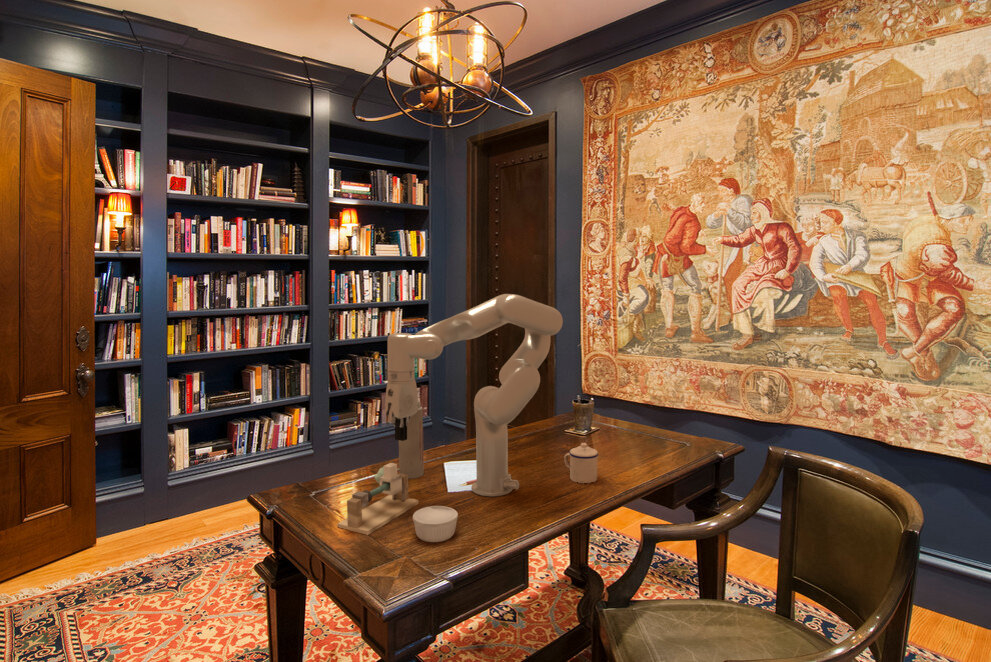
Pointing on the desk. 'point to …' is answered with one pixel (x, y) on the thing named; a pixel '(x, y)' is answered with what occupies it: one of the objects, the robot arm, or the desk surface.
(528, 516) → the desk surface
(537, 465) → the desk surface
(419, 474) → the thermos bottle
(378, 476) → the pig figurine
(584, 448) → the teacup with lid
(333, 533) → the desk surface
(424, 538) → the ramekin
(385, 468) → the marker sleeve
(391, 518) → the wooden toy assembly
